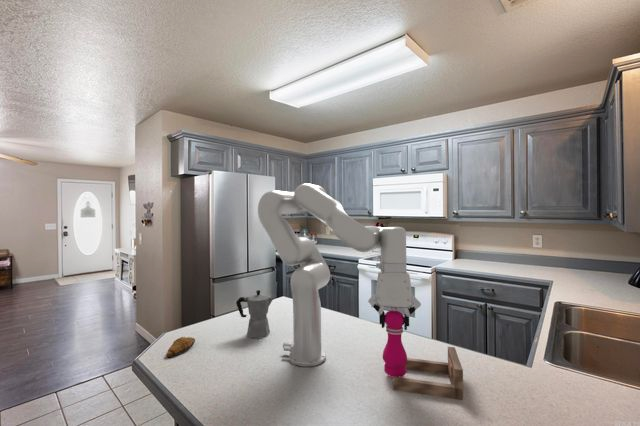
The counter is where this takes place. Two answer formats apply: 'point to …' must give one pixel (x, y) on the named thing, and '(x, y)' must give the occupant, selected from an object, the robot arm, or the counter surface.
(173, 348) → the croissant
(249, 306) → the coffeepot
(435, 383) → the spice rack
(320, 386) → the counter surface
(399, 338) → the pepper mill
